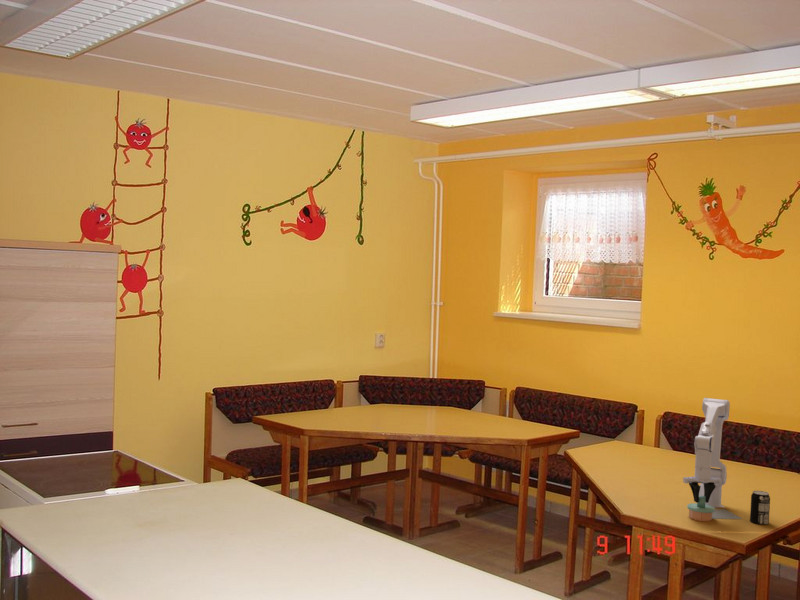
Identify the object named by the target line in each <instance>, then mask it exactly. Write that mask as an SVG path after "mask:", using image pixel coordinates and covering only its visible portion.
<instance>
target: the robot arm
mask: <svg viewBox="0 0 800 600" xmlns="http://www.w3.org/2000/svg"><path fill="white" fill-rule="evenodd" d="M730 403H731V402H730V400H728V399H720V398H719V399H718V398H708V397H704V398H703V400H702V406H701V407H702V408H701V410H702V412H703V415H704V417H705V419H704V421H703V422H702V423H700V428H699V431H698V435H696V436H695V437H694V442H693V443H694V445H693V446H694V455H695V463H694V476H687V477H686V476H684V477H682V482H683V483H684V484H688V485H689V487H690V490H691V493H692V496H693V502H695V503H698V501H699V496H705V497H706V502H705V505H709V506H712V507H714V508H725V505H723V504H722V494H723V493H722V492H723V486H724V485H726V483H727V476H728V474H727V466H726V464H725V463H723V462H722V461H721V449H722V437H723V436H722V435H723V434H722V433H723V424H724V421H728V420H729V417H730V410H731V409H730V407H731V405H730Z"/></svg>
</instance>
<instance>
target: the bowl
mask: <svg viewBox="0 0 800 600" xmlns="http://www.w3.org/2000/svg"><path fill="white" fill-rule="evenodd" d="M688 517H689V518H690V519H692V520H695V521H700V522H710V521H712V520H713V519H712V513H702V512H696V511H692V510H690V509H688Z"/></svg>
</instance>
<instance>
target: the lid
mask: <svg viewBox="0 0 800 600" xmlns="http://www.w3.org/2000/svg"><path fill="white" fill-rule="evenodd" d="M705 502H706V497H705V496H699V501H698V503H696V502H695V503H693V502H692V503H688V504H686V508H687V509H688V510H689V509H690V510H692V511H696V512H702V513H712V512H715V509H716V507H712V506H709V505H705Z"/></svg>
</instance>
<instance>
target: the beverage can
mask: <svg viewBox="0 0 800 600" xmlns="http://www.w3.org/2000/svg"><path fill="white" fill-rule="evenodd" d="M770 504H771V496H770V493H769V492H768V491H763V490H753V491H752V493H751V495H750V514H749V515H750V516H749V522H750V523H752V524H755V525H760V526H766V525H769V523H770V509H771V506H770Z"/></svg>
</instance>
